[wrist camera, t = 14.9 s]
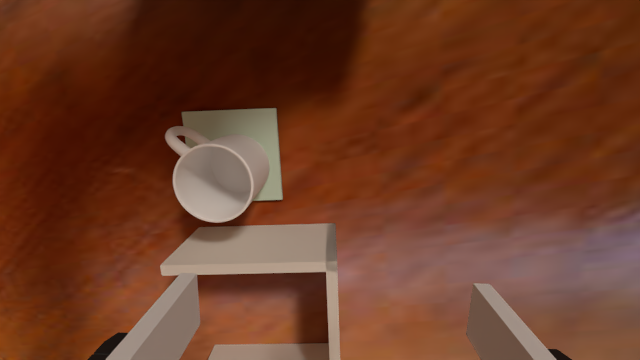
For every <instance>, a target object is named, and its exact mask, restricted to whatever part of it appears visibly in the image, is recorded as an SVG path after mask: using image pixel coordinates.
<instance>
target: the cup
mask: <svg viewBox="0 0 640 360" xmlns="http://www.w3.org/2000/svg"><path fill="white" fill-rule="evenodd" d="M178 135H183V136H186V137H188V138H190V139H192V140H193V141H194V142H196V143H197V144H198V146H195V147H193V148H190V147H188V146H187V145H186V144H184V143H183V142H182V141H181V140H179V139H178V138H177V137H176V136H178ZM165 140H166V142H167V143H168V145H169V146H170V147H171V148H172V149H173V150H174V151H175V152H176V153H177V154H179V155H180V156H181V157H180V159H179V160H178V162H177V163H176V166H175V168H174V172H173V187H174V191H175V194H176V197H177V199H178V201H179V202H180V204H181V205H182V206H183V207H184V209H185V210H186V211H188V212H189V213H190V214H191V215H193V216H195V217H196V218H198V219H201V220H203V221H207V222H214V223H220V222H226V221H230V220H232V219H234V218H236V217H238V216H239V215H240V214H242V213H243V212H244V211H245V210H246V208H247V207H248V206H249V204H250V203H251V202H252V200H253V199H254V198H255V196H256V195H257V194H258V193H259V191H260V190H261V189H262V187H263V186H264V184H265V183H266V181H267V178H268V175H269V168H270V166H269V159H268V156H267V154H266V152H265V150H264V149H263V147H262V146H261V145H260V144H259V143H258V142H257V141H255V140H254V139H252V138H250V137H248V136H245V135H240V134H231V135H226V136H223V137H220V138H217V139H214V140H212V141H210V140H208V139H207V138H206V137H204V136H203V135H202V134H200V133H199V132H197V131H195V130H193V129H191V128H188V127H184V126H175V127H171V128H170V129H168V130H167V131H166V134H165Z"/></svg>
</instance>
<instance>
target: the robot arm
mask: <svg viewBox="0 0 640 360" xmlns="http://www.w3.org/2000/svg"><path fill="white" fill-rule="evenodd" d="M199 325H200V313H199V298H198V282H197V273H180V275H179V276H178V277H177V278H176V279H175V280H174V282H173V283H172V284H171V285H170V286H169V287H168V288H167V290H166V291H165V292H164V293H163V294H162V295H161V296H160V298H159V299H158V300H157V301H156V302H155V303H154V304H153V306H152V307H151V308H150V309H149V310H148V311H147V312H146V314H145V315H144V316H143V317H142V318H141V319H140V321H139V322H138V323H137V324H136V325H135V326H134V327H133V329H132V330H131V331H130V332H129V333H117V334H115V335H114V336H112V337H111V338H109V339H108V340H106V341H105V342H104V343H103V344H102V345H101V346H100V347H99V348H98V349H97V350H96V351H95V352H94V355H91V356H90V358H89V359H88V360H179V359H180V357H181V356H182V354H183V352H184V351H185V349H186V347H187V346H188V344H189V342H190V340H191V339H192V337H193V335H194V334H195V332H196V330H197V328H198V327H199ZM466 335H467V337H468V338H469V340H470V342H471V343H472V345H473V347H474V349H475V350H476V352H477V354H478V355H479V357H480V359H481V360H572V359H570V358H569V357H567V356H566V355H564V354H563V353H561V352H560V351H559V350H557V349H547V348H546V347H545V346H544V345H543V344H542V343H541V341H540V340H539V339H538V338H537V337H536V336H535V335H534V334H533V332H532V331H531V330H530V329H529V328H528V327H527V326H526V324H525V323H524V322H523V321H522V320H521V319H520V318H519V317H518V315H517V314H516V313H515V312H514V311H513V310H512V309H511V307H510V306H509V305H508V304H507V303H506V302H505V301H504V300H503V298H502V297H501V296H500V295H499V294H498V293H497V292H496V290H495V289H494V288H493V287H492V286H491V285H490V284H476V283H473V289H472V296H471V303H470V310H469V317H468V324H467V331H466Z"/></svg>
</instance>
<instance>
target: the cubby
mask: <svg viewBox="0 0 640 360" xmlns="http://www.w3.org/2000/svg"><path fill="white" fill-rule="evenodd" d="M160 268H161V274H162V276H169V275H180V273H197V275H213V274H258V273H302V272H326V284H327V308H328V333H329V343H304V344H235V345H215V346H214V348H213V350H212V352H211V354H210V356H209V358H208V360H340V341H339V309H338V277H337V250H336V227H335V223H332V224H296V225H260V226H224V227H199V228H198V229H197V230H196V231H195V232H194V233H193V234H192V235H191V236H190V237H189V238H188V239H187V240H186V241H185V242H184V243H182V244H181V245H180V246H179V247H178V248H177V249H176V250H175V251H174V252H173V253H172V254H171V255H170V256H169V257H168V258H167V259H166V260H165V261H164V262H163V263H162V264H161V265H160Z"/></svg>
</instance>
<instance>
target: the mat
mask: <svg viewBox="0 0 640 360" xmlns="http://www.w3.org/2000/svg"><path fill="white" fill-rule="evenodd" d="M182 120H183V126H184V127H188V128H191V129H193V130H195V131H197V132H199V133H200V134H202V135H203V136H204V137H206V138H207V139H208V140H210V141H212V140H214V139H217V138H220V137H223V136H226V135H231V134H240V135H245V136H248V137H250V138H252V139H254V140H255V141H257V142H258V143H259V144H260V145H261V146H262V147H263V149H264V150H265V152H266V154H267V156H268V159H269V166H270V168H269V175H268V178H267V181H266V183H265V184H264V186H263V187H262V189H261V190H260V191H259V193H258V194H257V195H256V196H255V198H254V199H253V200H252V201H259V200H282V199H283V194H282V180H281V166H280V152H279V137H278V123H277V109H276V108H263V109H238V110H214V111H190V112H182ZM185 142H186V145H187V146H188V147H190V148H193V147H195V146H198V144H197V143H196V142H194V141H193V140H192V139H190V138H188V137H186V136H185Z"/></svg>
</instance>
